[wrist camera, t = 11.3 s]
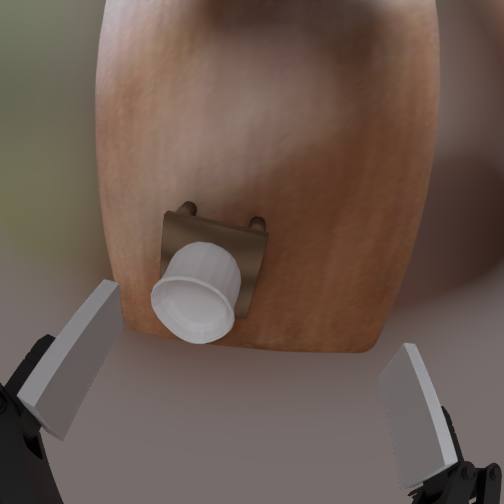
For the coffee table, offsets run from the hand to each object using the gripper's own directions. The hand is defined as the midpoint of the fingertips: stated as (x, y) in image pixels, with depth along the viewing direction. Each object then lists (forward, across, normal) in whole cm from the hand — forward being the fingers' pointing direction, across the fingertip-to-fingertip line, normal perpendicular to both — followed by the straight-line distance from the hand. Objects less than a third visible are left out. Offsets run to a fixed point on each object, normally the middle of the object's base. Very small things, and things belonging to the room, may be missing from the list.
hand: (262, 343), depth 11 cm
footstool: (+32, -6, -13) cm, 35 cm away
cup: (+24, -6, -13) cm, 28 cm away
